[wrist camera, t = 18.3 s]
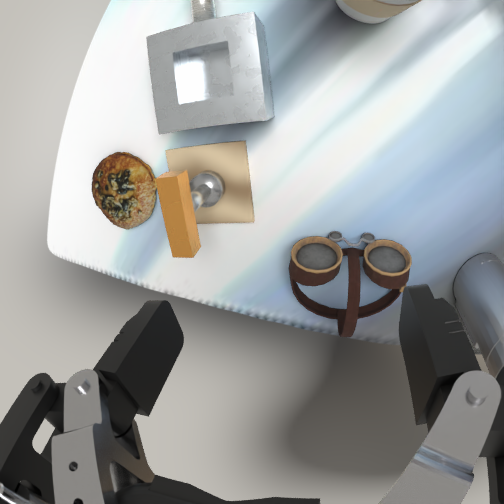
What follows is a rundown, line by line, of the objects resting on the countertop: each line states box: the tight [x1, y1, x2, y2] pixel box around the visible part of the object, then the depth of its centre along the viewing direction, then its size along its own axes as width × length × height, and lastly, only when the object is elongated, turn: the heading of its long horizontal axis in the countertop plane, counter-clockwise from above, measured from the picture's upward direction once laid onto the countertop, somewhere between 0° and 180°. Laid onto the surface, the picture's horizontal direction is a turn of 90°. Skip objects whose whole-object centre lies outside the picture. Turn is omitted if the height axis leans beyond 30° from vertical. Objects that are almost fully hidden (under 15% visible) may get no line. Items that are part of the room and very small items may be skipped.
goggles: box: [289, 231, 412, 337], centre depth 35 cm, size 15×13×10 cm
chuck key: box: [155, 170, 226, 258], centre depth 31 cm, size 4×8×10 cm, turn 6°
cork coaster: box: [166, 140, 255, 224], centre depth 35 cm, size 10×10×1 cm
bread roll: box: [92, 152, 157, 229], centre depth 37 cm, size 11×11×5 cm
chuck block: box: [147, 0, 274, 134], centre depth 24 cm, size 19×11×6 cm, turn 6°
